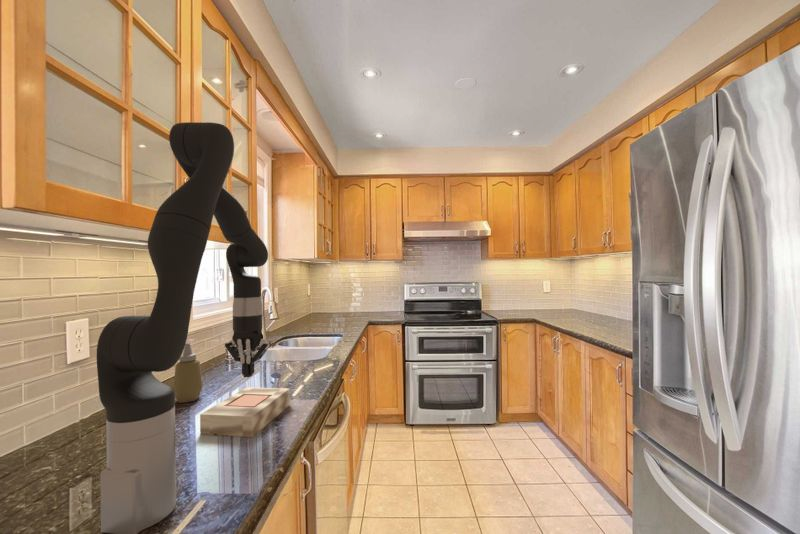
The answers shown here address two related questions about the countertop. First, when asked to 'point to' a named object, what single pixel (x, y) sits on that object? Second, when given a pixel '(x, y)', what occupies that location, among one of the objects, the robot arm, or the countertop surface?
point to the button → (249, 401)
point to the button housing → (244, 413)
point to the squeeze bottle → (187, 377)
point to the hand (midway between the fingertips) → (248, 376)
